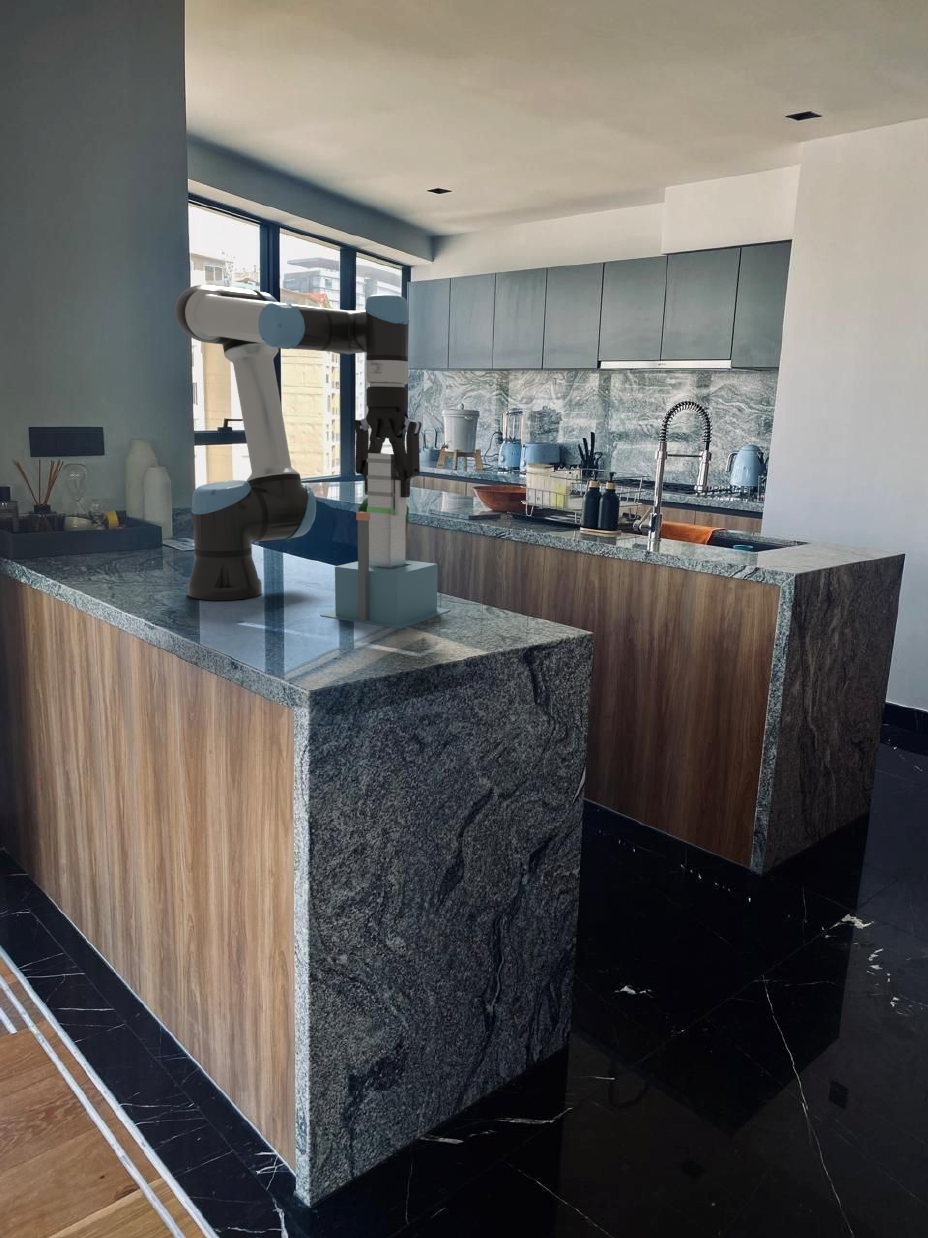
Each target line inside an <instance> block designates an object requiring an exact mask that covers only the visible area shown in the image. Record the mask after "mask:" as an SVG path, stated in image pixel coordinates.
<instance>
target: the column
mask: <svg viewBox="0 0 928 1238" xmlns="http://www.w3.org/2000/svg"><path fill="white" fill-rule="evenodd" d="M367 462H368V475H367V479H368V491H367V495H366V496H367V497H368V507H367V512H370V520H369V567H374V568H382V569H390V570H393V569H397V568H401V567H405V525H406V515H401V516H395V480H398V479H397V478H398V477H399V476H398V471H397V467H396V459H395V454H393V452H382V451H381V453H368V458H367ZM406 512H407V510H406Z"/></svg>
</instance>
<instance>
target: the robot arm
mask: <svg viewBox="0 0 928 1238" xmlns="http://www.w3.org/2000/svg"><path fill="white" fill-rule="evenodd" d="M408 306H409V304H408V301H407V299H406V298H405V297H404V296H401V295H394V294H372V295H369V296H368V297H367V298H366V299H365V307H364V310H363V309H362V310H360V309H359V310H344V309H337V308H327V307H320V306H319V307H317V306H311V305H301V304H295V303H289V302H281V301H278V300H277V299H276V298H275V297H274V296H273V295H271V294H270V293H267V292H263V291H259V290H257V289H252V288H251V289H250V288H248V289H244V288H236V287H228V286H219V285H213V284H198V285H193V286H191V287H188V288H187V289H185V290H183V292H182V293H180V295H179V297H178V298H177V300H176V303H175V307H174V315H175V320H176V323H177V325H178V326H179V328H180V329H181V331H182V332H183V333H184V334H186V335H187V336H188V337H190V338H191V339H193V340H195V341H198V342H202V343H205V344H206V343H208V344H214V345H221V346H222V348H223V349H222V350H223V354H224V355H223V356H224V358H226V360H228V361H230V362H231V363H232V364H233V365H232V366H233V371H234V375H235V376H234V377H235V381H236V383H235V384H236V388H237V389H236V390H237V393H238V399H239V405H240V410H241V411H240V412H241V417H242V422H243V423H242V424H243V429H244V434H245V435H244V436H245V440H246V445H247V446H246V447H247V451H248V457H249V463H250V470H251V472H250V475H249V477H248V478H247V479H246V480H239V479H237V480H234V479H233V480H224V481H215V482H209V483H205V484H203V485H200V486H198V487H196V488H195V489H194V491H193V493H192V494H191V495H192V501H191V509H190V510H191V513H192V526H193V528H192V529H193V545H194V547H193V548H194V561H193V565H192V569H191V574H190V579H189V580H188V583H187V595H188V597H189V598H193V599H197V600H203V601H204V600H205V601H236V600H242V599H243V600H244V599H250V598H253V597H254V598H255V597H257V596H260V595H261V594H262V593H263V592H262V591H263V588H262V581H261V579H260V578H259V575H258V572H257V568H256V564H255V562H254V559H253V550H252V549H253V548H252V547H253V545H252V543H254V542H255V543H256V542H263V541H273V540H274V541H275V540H289V539H292V538H299V537H303V536H304V535H306V534H308V532H309V531H310V530H311V528H312V526H313V523H314V522H315V520H316V514H317V500H316V496H315V493H314V491H313V490H312V489H311V487H310V486H309V485H307V484H305V483H302V480H301V479H302V478H301V474H300V473H299V472H298V471H297V470H295V469H294V468H293V467H292V464H291V463H292V462H291V457H290V455H291V454H290V451H289V444H288V439H287V433H286V432H287V431H286V427H285V421H284V415H283V409H282V404H281V399H280V391H279V386H278V381H277V374H276V369H275V363H274V358H275V357H276V356H277V354H278V353H279V349H280V350H306V351H316V352H328V353H334V354H339V355H347V356H348V355H353V354H363V353H366V357H365V360H366V365H365V366H366V367H365V368H366V369H365V370H366V371H365V372H366V383H367V384H369V386H368V387H367V388H365V389H366V390H365V392H366V393H365V394H366V397H365V398H366V402H365V403H366V407H367V414H366V416H365V417H364V418H362V419H355V420H354V421H353V427H354V430H355V458H354V459H355V460H354V465H355V466H354V467H355V468H354V471H355V473H356V474H358V475H360V476H361V475H362V476H363V478H364V493H365V495H366V496H368V495H367V491H368V479H367V475H368V462H367V458H368V453H381V452H382V449H383V445H384V443H385V442H386V439H388V441H389V443H390V445H391V448H392V453H393V454H395V459H396V467H397V471H398V476H399V477H398V478H397V479H398V480H395V516H401V515H406V510H407V506H408V504H407V500H408V499H407V498H410V496H411V480H412V479H413V478H417V477H419V476H420V474H421V468H420V467H421V465H420V461H421V460H420V458H421V457H420V432H421V429H422V426H423V425H422V424H423V423H422V422H421V421H419V420H418V421H415V420H412V419H410V418H409V415H408V413H407V409H408V406H409V405H408V404H409V392H408V391H409V390H408V389H407V387H405V386H406V385H408V383H409V323H410V320H409V307H408ZM369 429H370V433H369ZM404 430H405V431H406V434H404ZM369 434H370V435H369ZM405 435H406V436H405ZM405 437H406V439H405ZM405 441H406V443H405ZM405 445H406V446H405Z"/></svg>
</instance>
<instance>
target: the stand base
mask: <svg viewBox="0 0 928 1238" xmlns="http://www.w3.org/2000/svg"><path fill="white" fill-rule="evenodd" d="M355 514H356V518H355V519H356V521H357V561H354V562H349V563H344V564H340V565H336V566H334V594H335V595H334V597H335V598H334V601H335V603H334V604H335V608H334V610H333V611H329V612H326V613H324V614H320V617H324V618H331V619H337V620H341V621H346V622H347V621H349V622H352V623H353V622H355V623H361V624H367V625H373V626H379V627H385V628H391V629H398V630H402V629H404V628H407V627H410V626H412V625H415V624H416V625H417V624H418V623H421V622H423V621H426V620H429V619H432V618H436V617H437V616H440V615H443V614H445V613H448V612H451V611H452V610H451V609H449V608H441V607H438V572H439V571H438V568H439V567H438V563H434V562H425V561H416V560H407V559H406V560H405V567H401V568H397V569H393V570H390V569H382V568H374V567H369V520H370V512H359V511H356V512H355Z"/></svg>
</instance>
